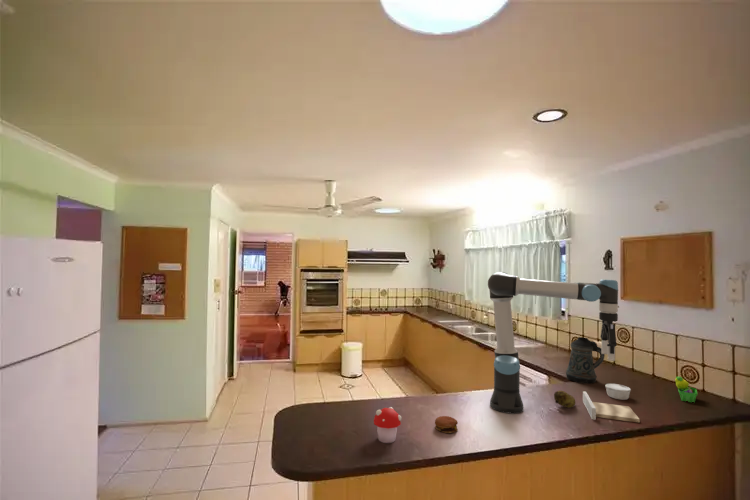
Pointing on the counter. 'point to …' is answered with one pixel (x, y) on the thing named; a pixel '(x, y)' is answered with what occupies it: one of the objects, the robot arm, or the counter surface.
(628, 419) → the cutting board
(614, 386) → the ramekin
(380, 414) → the mushroom
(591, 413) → the divider wall
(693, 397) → the fruit basket
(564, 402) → the potato
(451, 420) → the burger
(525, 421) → the counter surface
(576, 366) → the beer stein
